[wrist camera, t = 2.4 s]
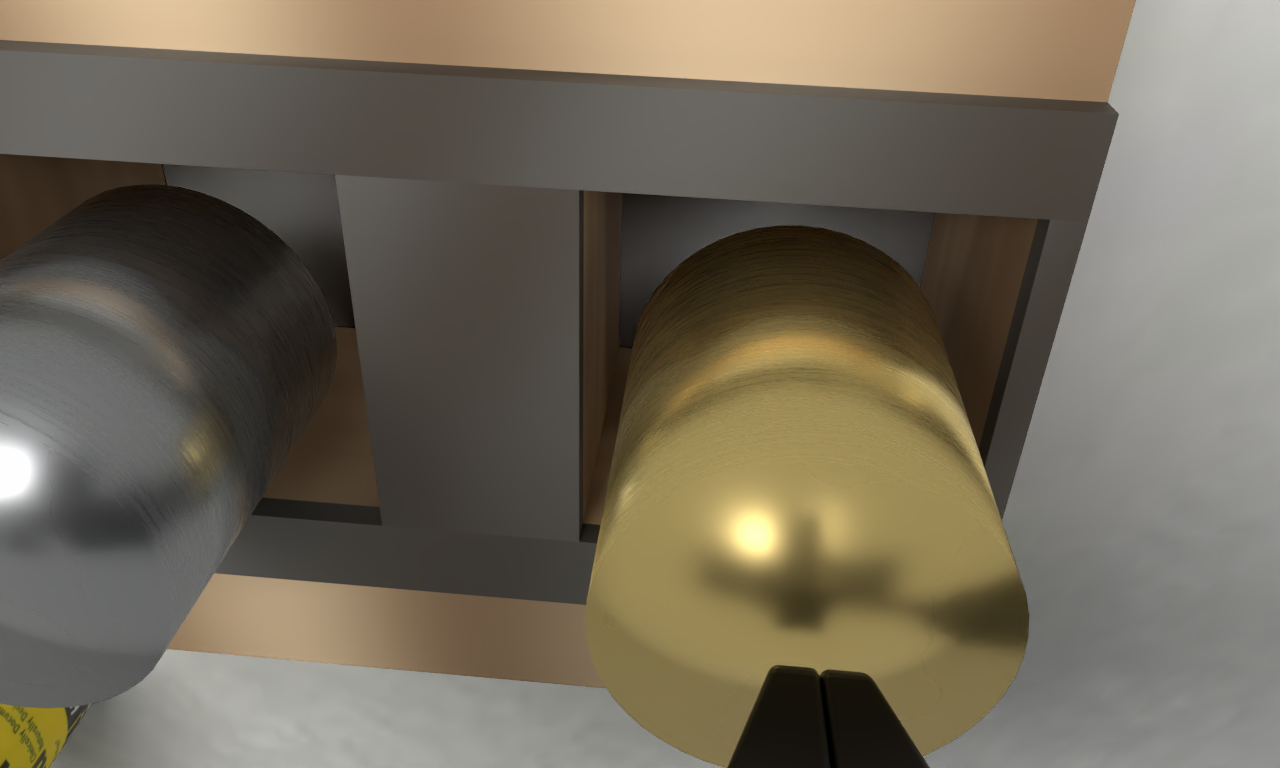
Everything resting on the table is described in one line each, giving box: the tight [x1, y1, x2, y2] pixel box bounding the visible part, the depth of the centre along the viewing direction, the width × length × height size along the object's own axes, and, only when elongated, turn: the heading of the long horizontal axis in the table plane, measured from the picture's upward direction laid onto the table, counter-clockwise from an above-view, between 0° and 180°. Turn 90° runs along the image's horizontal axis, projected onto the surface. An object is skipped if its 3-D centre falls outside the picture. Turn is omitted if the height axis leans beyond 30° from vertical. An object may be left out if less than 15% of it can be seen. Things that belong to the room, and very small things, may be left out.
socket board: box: [0, 0, 1136, 688], centre depth 15 cm, size 14×12×5 cm
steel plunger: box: [0, 185, 337, 708], centre depth 12 cm, size 4×4×5 cm
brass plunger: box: [585, 226, 1029, 768], centre depth 11 cm, size 4×4×5 cm
